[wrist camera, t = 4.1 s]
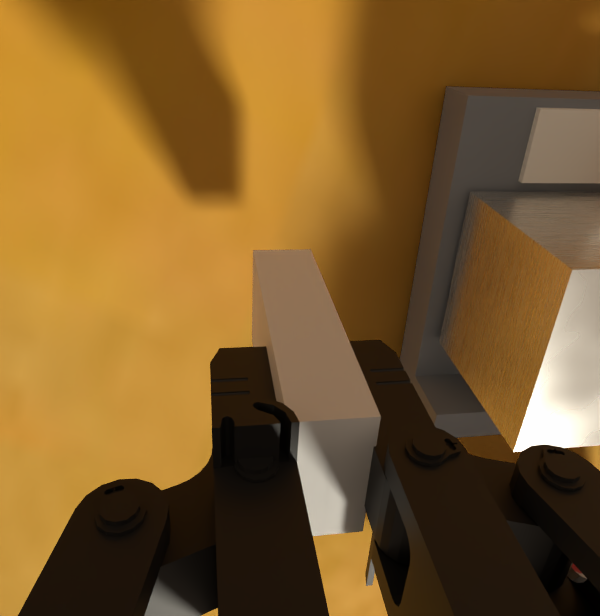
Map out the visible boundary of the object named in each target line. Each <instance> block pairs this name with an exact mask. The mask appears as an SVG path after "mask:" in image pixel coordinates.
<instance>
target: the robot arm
mask: <svg viewBox="0 0 600 616" xmlns="http://www.w3.org/2000/svg"><path fill="white" fill-rule="evenodd" d="M252 343H253V347H240V348H220V349H219V350H218V352H217V353H216V355H215V356H214V358H213V359H212V361H211V363H210V372H211V405H212V444H213V448H212V455H211V457H210V459H209V461H208V463H207V465H206V466H205V467H204V468H203V469H202V470H201V472H200V473H198V474H197V475H195V476H194V477H193V478H191V479H190V480H188V481H185V482H183V483H181V484H179V485H176V486H173V487H170V488H168V489H165V490H160V489H159V488H158V487H156V486H155V485H154V484H153V483H150V482H147V481H143V480H139V479H120V480H116V481H113V482H110V483H107V484H104V485H101V486H100V487H98V488H97V489H95V490H94V491H92V492H91V493H89V494H88V495H86V496H85V498H84V499H83V500H82V501H81V503H80V504H79V505H78V506H77V508H76V509H75V510H74V512H73V514H72V516H71V518H70V520H69V522H68V523H67V525H66V527H65V529H64V531H63V533H62V535H61V537H60V538H59V540H58V542H57V544H56V546H55V548H54V550H53V551H52V553H51V555H50V557H49V559H48V561H47V563H46V564H45V566H44V568H43V570H42V572H41V574H40V576H39V578H38V579H37V581H36V583H35V585H34V587H33V589H32V591H31V592H30V594H29V596H28V598H27V600H26V602H25V604H24V605H23V607H22V609H21V611H20V613H19V615H18V616H201V615H203V614H205V613H207V612H209V611H211V610H214V609H216V608H218V616H329V613H328V608H327V603H326V598H325V594H324V589H323V584H322V579H321V574H320V570H319V565H318V560H317V555H316V550H315V546H314V541H313V536H319V535H329V534H339V533H349V532H359V531H363V526H364V520H365V514H366V512H367V516H368V519H369V522H370V525H371V528H372V531H373V533H372V539H371V545H370V551H369V556H368V562H367V568H366V586H368V585H372V584H373V578H374V573H376V576H377V580H378V583H379V587H380V590H381V593H382V597H383V600H384V603H385V607H386V610H387V614H388V616H600V471H599V470H598V469H597V468H596V467H594V466H593V465H592V464H591V463H590V462H588V461H587V460H585V459H584V458H582V457H581V456H579V455H578V454H576V453H574V452H571V451H569V450H567V449H564V448H562V447H557V446H551V445H546V444H543V445H534V446H530V447H528V448H527V449H525V450H523V451H522V452H521V454H520V456H519V458H518V460H517V463H516V464H514V463H508V462H503V461H497V460H491V459H485V458H481V457H477V456H473V455H470V454H468V452H467V451H466V449H465V448H464V446H463V445H462V444H461V443H460V442H459V440H458V439H457V438H455V437H454V436H452V435H451V434H449V433H448V432H446V431H444V430H442V429H439V428H436V427H435V425H434V423H433V421H432V420H431V418H430V416H429V414H428V412H427V410H426V408H425V406H424V405H423V403H422V401H421V399H420V397H419V395H418V393H417V391H416V390H415V388H414V386H413V384H412V383H410V378H409V376H408V375H407V373H406V371H404V367H403V365H402V363H401V361H400V360H399V358H398V356H397V354H396V352H394V351H393V350H392V349H391V348H389V347H388V346H387V345H386V344H384V343H383V342H382V341H381V340H365V341H349V339H348V337H347V335H346V332H345V330H344V327H343V325H342V323H341V320H340V318H339V316H338V313H337V311H336V308H335V306H334V304H333V301H332V299H331V297H330V294H329V292H328V289H327V287H326V285H325V282H324V280H323V278H322V275H321V273H320V270H319V268H318V266H317V263H316V261H315V258H314V256H313V254H312V251H311V249H307V250H253V303H252ZM572 564H574V565H575V566H576V567H577V568H578V569H579V570H580V571H581V572H582V574H583V575H584V576H585V577H586V578H587V579H586V578H584V577H582V576H580V575H579V574H578V573H577V572H576V571H575V570H574V569H573V568H572V567H571V566H572Z"/></svg>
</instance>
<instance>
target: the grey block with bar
mask: <svg viewBox="0 0 600 616" xmlns="http://www.w3.org/2000/svg"><path fill="white" fill-rule="evenodd" d="M439 342H440V344H441V345H442V347H443V348H444V350H445V351H446V353H447V354H448V356H449V357H450V359H451V360H452V362H453V363H454V365H455V366H456V368H457V369H458V371H459V372H460V374H461V375H462V377H463V378H464V380H465V381H466V383H467V384H468V386H469V387H470V389H471V390H472V391H473V393H474V394H475V396H476V397H477V399H478V400H479V402H480V403H481V405H482V406H483V408H484V409H485V411H486V412H487V414H488V415H489V417H490V418H491V420H492V421H493V423H494V424H495V426H496V427H497V429H498V430H499V432H500V433H501V435H502V436H503V438H504V439H505V440H506V442H507V443H508V445H509V446H510V448H511V449H512V451H513V452H522V451H523V450H525V449H527V448H528V447H530V446H534V445H543V444H546V445H551V446H557V447H562V448H571V447H584V446H596V445H600V192H470V195H469V199H468V204H467V209H466V214H465V219H464V224H463V228H462V233H461V238H460V243H459V248H458V252H457V257H456V262H455V267H454V272H453V276H452V281H451V286H450V291H449V296H448V300H447V305H446V310H445V315H444V320H443V324H442V329H441V334H440V339H439Z"/></svg>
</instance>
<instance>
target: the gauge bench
mask: <svg viewBox="0 0 600 616" xmlns="http://www.w3.org/2000/svg"><path fill="white" fill-rule="evenodd" d="M470 192H600V91H570V90H540V89H510V88H480V87H449V86H446V91H445V97H444V103H443V109H442V115H441V121H440V127H439V133H438V138H437V144H436V150H435V156H434V162H433V168H432V174H431V180H430V185H429V191H428V197H427V203H426V209H425V215H424V221H423V227H422V232H421V238H420V244H419V250H418V256H417V262H416V268H415V274H414V279H413V285H412V291H411V297H410V303H409V309H408V315H407V321H406V326H405V332H404V338H403V344H402V350H401V356H400V361H401V363H402V365H403V367H404V371H406V373H407V375H408V376H409V378H410V383H412V384H413V386H414V388H415V390H416V391H417V393H418V395H419V397H420V399H421V401H422V403H423V405H424V406H425V408H426V410H427V412H428V414H429V416H430V418H431V420H432V421H433V423H434V425H435V427H436V428H439V429H442V430H444V431H446V432H448V433H449V434H451V435H452V436H454V437H455V438H459V437H472V436H486V435H499V434H501V433H500V432H499V430H498V429H497V427H496V426H495V424H494V423H493V421H492V420H491V418H490V417H489V415H488V414H487V412H486V411H485V409H484V408H483V406H482V405H481V403H480V402H479V400H478V399H477V397H476V396H475V394H474V393H473V391H472V390H471V389H470V387H469V386H468V384H467V383H466V381H465V380H464V378H463V377H462V375H461V374H460V372H459V371H458V369H457V368H456V366H455V365H454V363H453V362H452V360H451V359H450V357H449V356H448V354H447V353H446V351H445V350H444V348H443V347H442V345H441V344H440V342H439V339H440V334H441V329H442V324H443V320H444V315H445V310H446V305H447V300H448V296H449V291H450V286H451V281H452V276H453V272H454V267H455V262H456V257H457V252H458V248H459V243H460V238H461V233H462V228H463V224H464V219H465V214H466V209H467V204H468V199H469V195H470Z"/></svg>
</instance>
